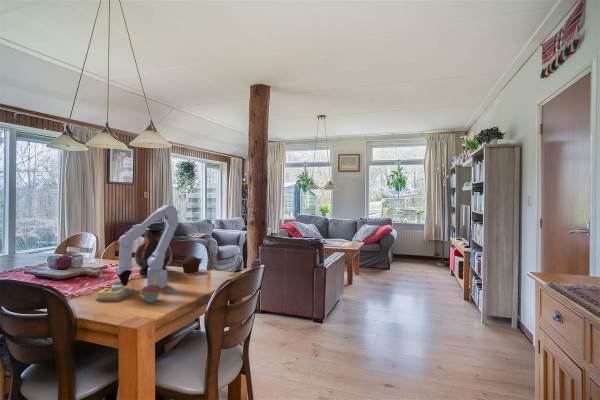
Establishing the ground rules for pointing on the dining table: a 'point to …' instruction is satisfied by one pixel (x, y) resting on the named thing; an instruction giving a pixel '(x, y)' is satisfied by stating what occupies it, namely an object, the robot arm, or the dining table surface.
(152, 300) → the cupcake
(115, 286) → the cart
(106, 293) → the dock
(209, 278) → the dining table surface
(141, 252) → the amphora vase
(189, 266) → the muffin
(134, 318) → the dining table surface
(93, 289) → the dining table surface
